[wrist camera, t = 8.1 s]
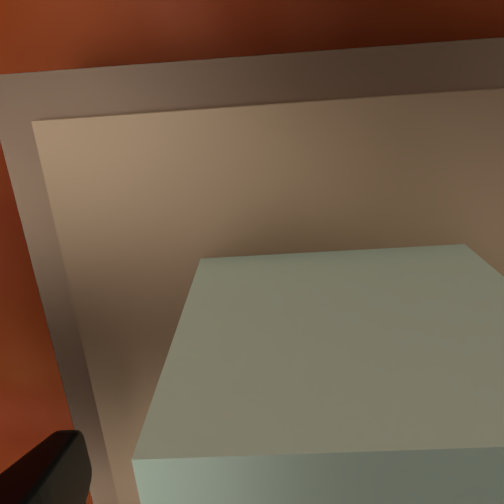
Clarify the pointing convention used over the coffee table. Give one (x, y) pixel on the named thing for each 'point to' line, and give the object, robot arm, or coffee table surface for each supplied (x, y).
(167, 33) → the coffee table surface
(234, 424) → the sage block
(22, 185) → the pedestal
